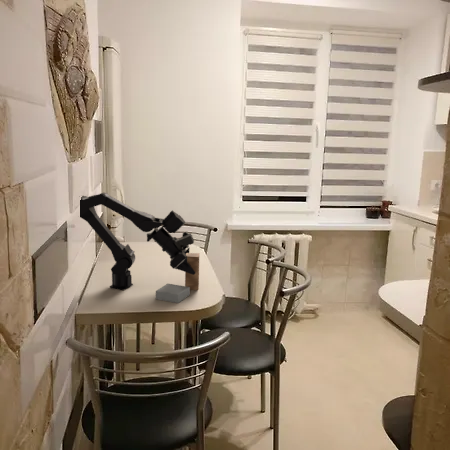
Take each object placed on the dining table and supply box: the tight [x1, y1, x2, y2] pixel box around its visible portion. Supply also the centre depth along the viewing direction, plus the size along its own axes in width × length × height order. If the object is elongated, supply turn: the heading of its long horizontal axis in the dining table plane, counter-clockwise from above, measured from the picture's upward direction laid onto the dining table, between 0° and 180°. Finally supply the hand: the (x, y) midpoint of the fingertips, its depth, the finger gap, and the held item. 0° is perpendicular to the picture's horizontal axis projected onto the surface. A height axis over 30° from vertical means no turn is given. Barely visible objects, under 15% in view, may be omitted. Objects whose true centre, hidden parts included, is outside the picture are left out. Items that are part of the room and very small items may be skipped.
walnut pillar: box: [184, 252, 200, 291], centre depth 170 cm, size 5×5×13 cm
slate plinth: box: [155, 283, 191, 304], centre depth 161 cm, size 9×9×3 cm
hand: (195, 270), depth 170 cm, fingers open, 9 cm apart
